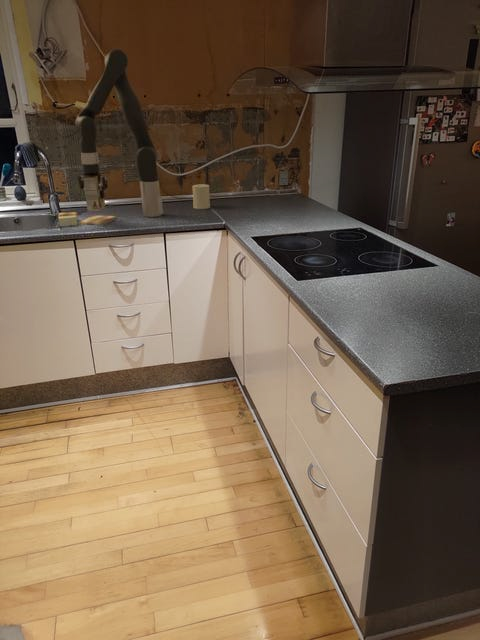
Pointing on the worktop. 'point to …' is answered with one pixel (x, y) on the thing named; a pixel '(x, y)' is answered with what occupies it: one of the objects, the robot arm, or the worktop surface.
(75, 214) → the oak block
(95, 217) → the birch board
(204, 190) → the can
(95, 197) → the coffee box
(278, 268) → the worktop surface
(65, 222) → the sage block
